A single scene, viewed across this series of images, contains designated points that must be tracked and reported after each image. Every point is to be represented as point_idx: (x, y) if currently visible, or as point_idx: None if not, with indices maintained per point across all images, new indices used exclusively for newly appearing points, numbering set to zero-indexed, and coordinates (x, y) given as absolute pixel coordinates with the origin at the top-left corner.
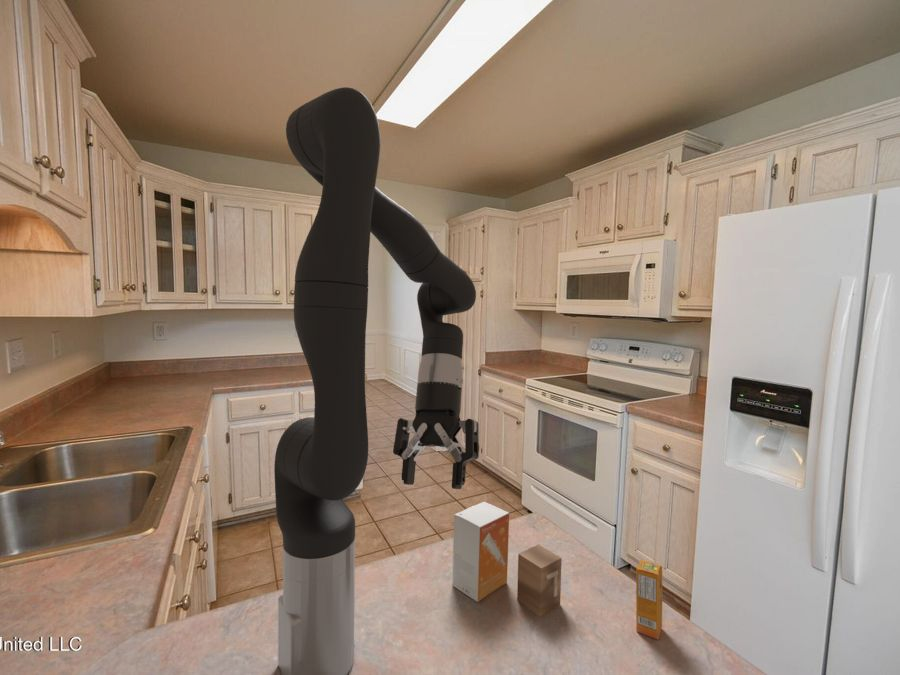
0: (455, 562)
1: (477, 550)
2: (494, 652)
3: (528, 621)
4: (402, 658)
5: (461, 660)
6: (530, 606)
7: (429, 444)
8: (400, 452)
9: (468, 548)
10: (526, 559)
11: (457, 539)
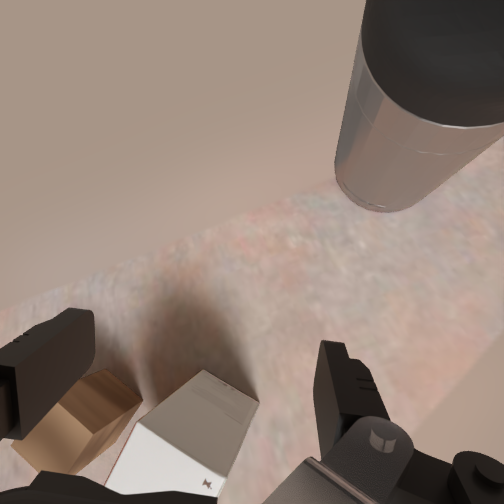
0: (243, 415)
1: (170, 400)
2: (158, 274)
3: (121, 352)
4: (275, 217)
5: (197, 244)
6: (117, 383)
7: (153, 500)
8: (447, 483)
9: (196, 412)
10: (76, 417)
11: (227, 435)
